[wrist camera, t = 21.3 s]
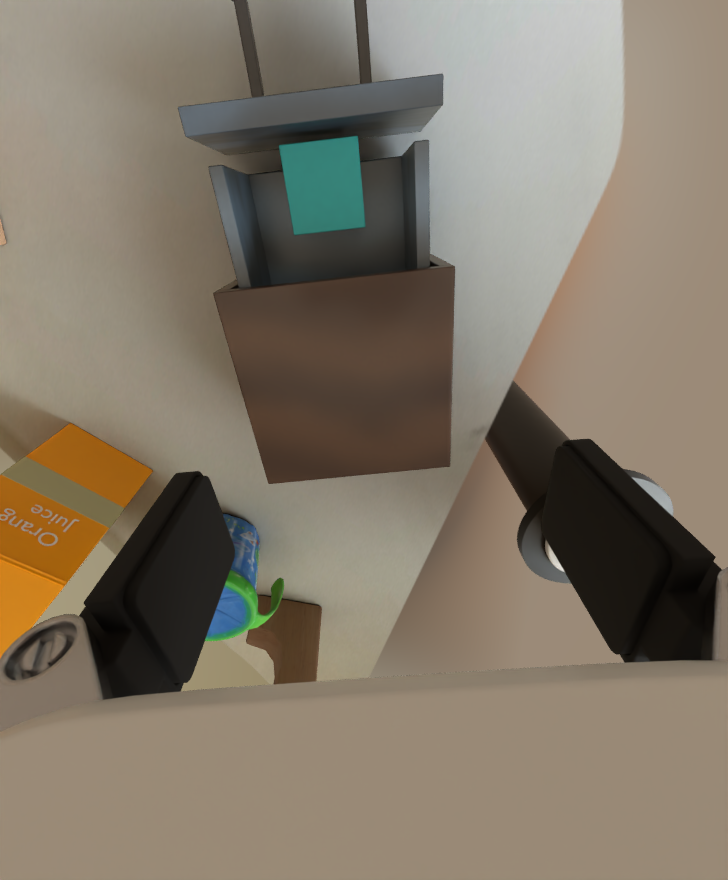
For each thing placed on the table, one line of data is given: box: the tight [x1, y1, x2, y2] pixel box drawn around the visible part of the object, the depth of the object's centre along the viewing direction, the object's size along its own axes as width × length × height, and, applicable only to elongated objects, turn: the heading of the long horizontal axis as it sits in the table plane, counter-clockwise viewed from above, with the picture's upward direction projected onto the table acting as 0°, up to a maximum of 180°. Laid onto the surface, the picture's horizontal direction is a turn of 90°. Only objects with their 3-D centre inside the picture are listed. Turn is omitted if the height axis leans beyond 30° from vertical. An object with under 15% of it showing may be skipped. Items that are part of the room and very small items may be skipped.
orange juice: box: [0, 423, 153, 658], centre depth 31 cm, size 8×9×20 cm
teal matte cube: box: [279, 136, 365, 235], centre depth 24 cm, size 4×4×4 cm
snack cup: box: [205, 514, 284, 641], centre depth 41 cm, size 16×10×10 cm
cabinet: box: [213, 254, 455, 484], centre depth 30 cm, size 15×15×9 cm
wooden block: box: [246, 596, 322, 684], centre depth 45 cm, size 9×4×18 cm, turn 71°
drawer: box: [178, 0, 443, 288], centre depth 24 cm, size 19×13×7 cm
